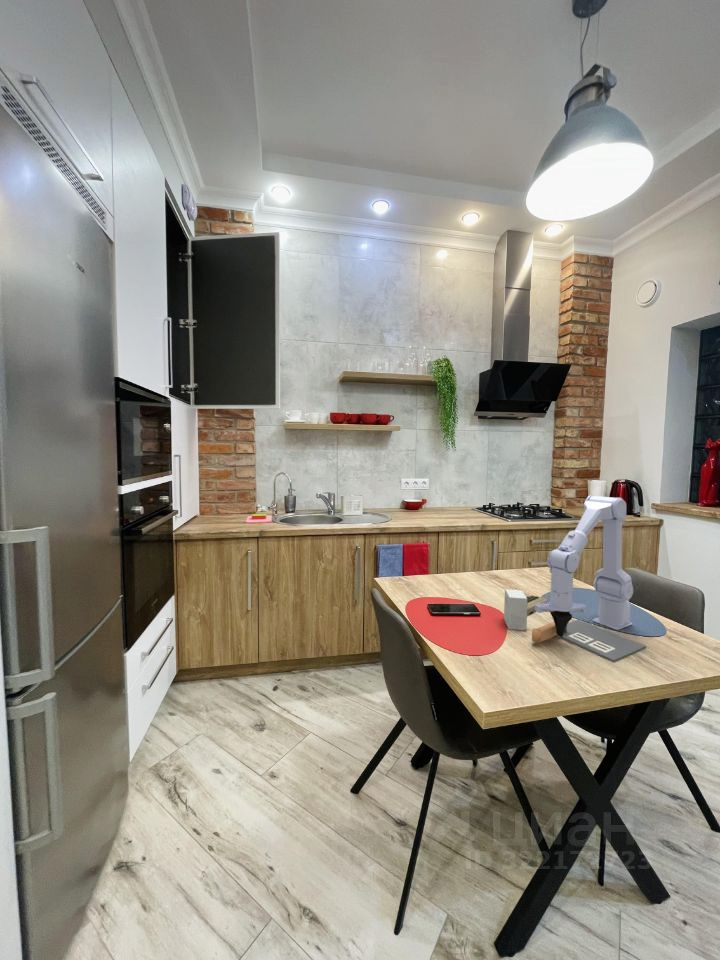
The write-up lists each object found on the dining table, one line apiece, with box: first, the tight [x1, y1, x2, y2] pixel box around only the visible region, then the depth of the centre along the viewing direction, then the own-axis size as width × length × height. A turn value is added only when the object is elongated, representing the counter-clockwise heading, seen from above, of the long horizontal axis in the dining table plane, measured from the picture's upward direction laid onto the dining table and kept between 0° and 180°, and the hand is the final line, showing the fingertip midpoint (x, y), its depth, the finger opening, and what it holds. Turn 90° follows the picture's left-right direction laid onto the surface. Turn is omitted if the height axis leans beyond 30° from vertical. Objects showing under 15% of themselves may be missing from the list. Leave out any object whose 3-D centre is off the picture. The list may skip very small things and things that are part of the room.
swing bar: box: [531, 621, 558, 644], centre depth 114 cm, size 2×14×3 cm, turn 123°
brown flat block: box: [526, 595, 549, 617], centre depth 139 cm, size 16×8×3 cm, turn 128°
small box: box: [503, 588, 528, 631], centre depth 124 cm, size 8×6×10 cm
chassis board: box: [554, 619, 647, 663], centre depth 115 cm, size 17×20×5 cm
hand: (559, 635), depth 113 cm, fingers closed
